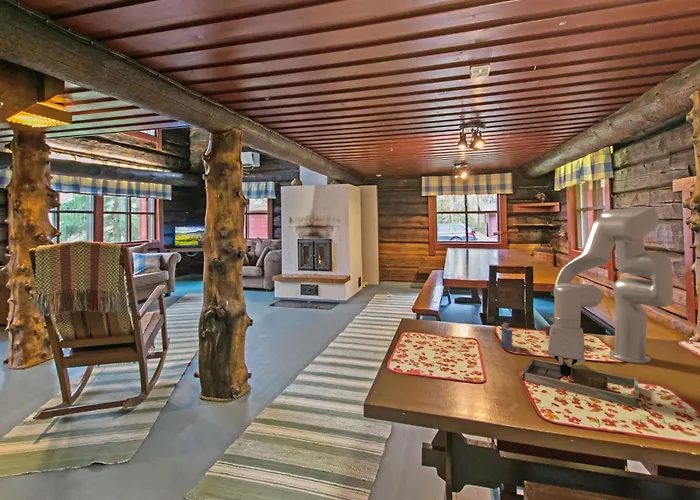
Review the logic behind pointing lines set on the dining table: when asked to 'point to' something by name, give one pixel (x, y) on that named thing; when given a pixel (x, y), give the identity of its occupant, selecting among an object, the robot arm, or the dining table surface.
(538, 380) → the box
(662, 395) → the dining table surface
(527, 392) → the dining table surface
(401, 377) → the dining table surface
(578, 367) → the stone block
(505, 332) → the flask
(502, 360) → the dining table surface
